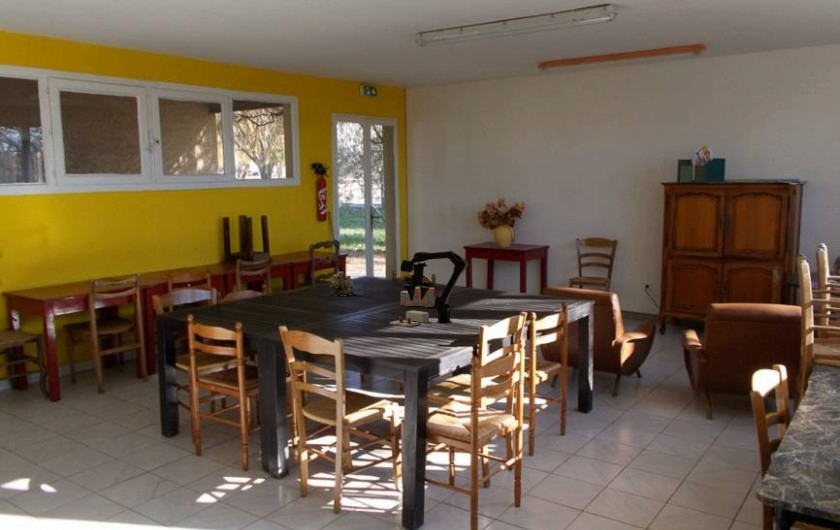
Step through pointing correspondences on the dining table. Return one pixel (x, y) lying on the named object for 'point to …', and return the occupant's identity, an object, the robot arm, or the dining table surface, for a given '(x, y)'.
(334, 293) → the owl figurine
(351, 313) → the dining table surface
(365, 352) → the dining table surface
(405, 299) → the stack of blocks
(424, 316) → the block
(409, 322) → the base
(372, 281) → the dining table surface
